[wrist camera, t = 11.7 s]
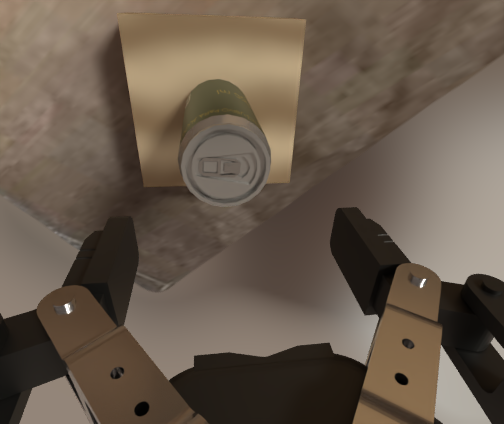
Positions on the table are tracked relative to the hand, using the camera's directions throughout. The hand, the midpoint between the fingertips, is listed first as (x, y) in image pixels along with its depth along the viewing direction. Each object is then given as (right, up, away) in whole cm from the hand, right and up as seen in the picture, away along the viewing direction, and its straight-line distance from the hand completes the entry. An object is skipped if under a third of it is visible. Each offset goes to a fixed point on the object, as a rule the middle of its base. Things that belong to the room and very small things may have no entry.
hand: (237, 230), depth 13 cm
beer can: (-2, +10, +15) cm, 18 cm away
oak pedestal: (-3, +11, +19) cm, 22 cm away
